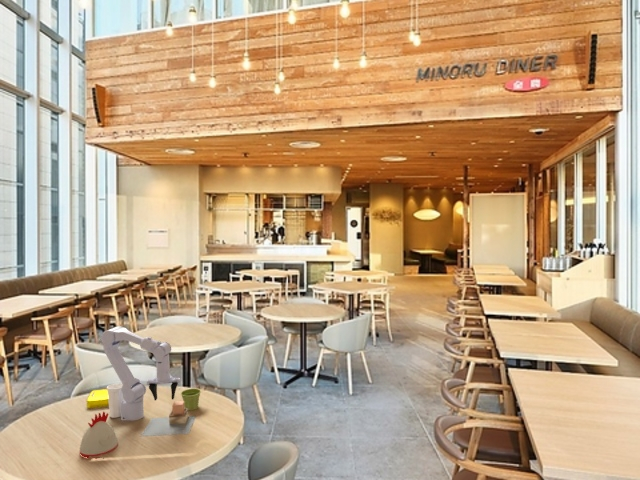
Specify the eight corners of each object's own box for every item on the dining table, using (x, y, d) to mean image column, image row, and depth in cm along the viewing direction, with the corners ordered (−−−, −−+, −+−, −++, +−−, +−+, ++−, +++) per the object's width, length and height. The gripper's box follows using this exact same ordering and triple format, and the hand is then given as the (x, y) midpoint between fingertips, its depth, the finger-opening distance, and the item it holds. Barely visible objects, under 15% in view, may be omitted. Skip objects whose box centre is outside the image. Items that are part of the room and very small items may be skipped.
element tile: (91, 398, 243) (91, 389, 242) (122, 395, 247) (122, 386, 247) (86, 409, 228) (85, 400, 228) (119, 406, 232) (118, 396, 232)
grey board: (140, 438, 197) (140, 436, 197) (152, 420, 215) (151, 417, 215) (188, 436, 198) (188, 433, 198) (196, 417, 216) (196, 415, 216)
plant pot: (189, 415, 219) (188, 397, 219) (177, 410, 225) (176, 392, 225) (205, 408, 227) (204, 391, 226) (193, 404, 233) (192, 387, 232)
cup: (129, 412, 223) (128, 383, 223) (120, 419, 215) (119, 389, 215) (113, 411, 224) (112, 382, 224) (104, 419, 216) (102, 388, 216)
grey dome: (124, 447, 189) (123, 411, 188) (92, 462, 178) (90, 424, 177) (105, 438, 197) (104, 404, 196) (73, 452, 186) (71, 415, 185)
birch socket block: (169, 424, 208) (169, 415, 208) (172, 417, 215) (172, 408, 215) (185, 423, 209) (185, 414, 208) (188, 416, 216) (188, 408, 215)
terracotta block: (172, 416, 209) (172, 405, 209) (174, 412, 214) (174, 401, 213) (182, 415, 210) (182, 404, 209) (184, 411, 214) (184, 401, 214)
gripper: (144, 373, 207) (145, 403, 208) (177, 371, 209) (178, 401, 209) (148, 368, 214) (149, 397, 215) (180, 366, 216) (182, 395, 216)
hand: (164, 399), depth 213 cm, fingers open, 7 cm apart
